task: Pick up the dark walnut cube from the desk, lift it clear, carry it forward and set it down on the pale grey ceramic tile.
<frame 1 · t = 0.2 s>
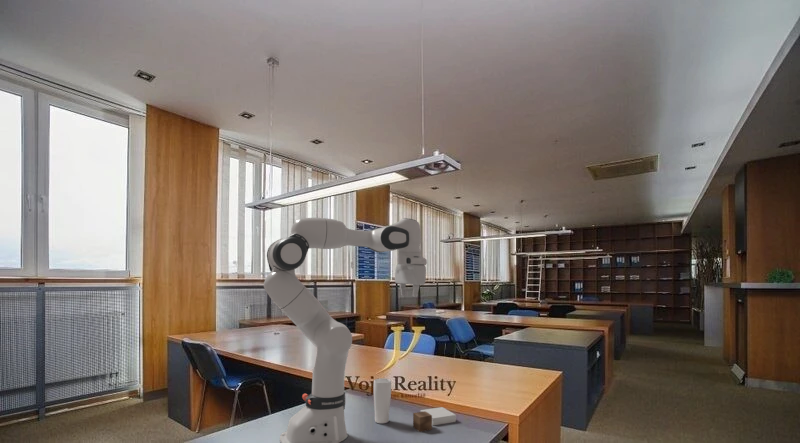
hand: (409, 296, 161), 47 cm above the table, fingers open, 8 cm apart
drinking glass: (381, 422, 157), on the table
grey tile: (437, 419, 161), on the table
walnut cube: (422, 428, 151), on the table
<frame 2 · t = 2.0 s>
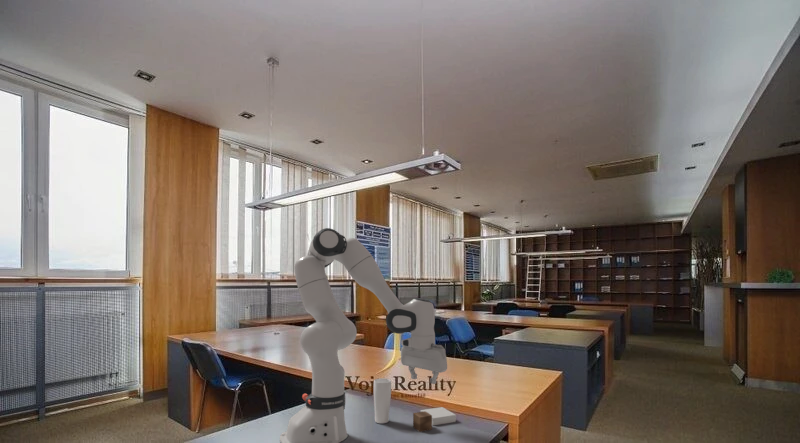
hand: (423, 381, 153), 17 cm above the table, fingers open, 8 cm apart
nothing on the table moved.
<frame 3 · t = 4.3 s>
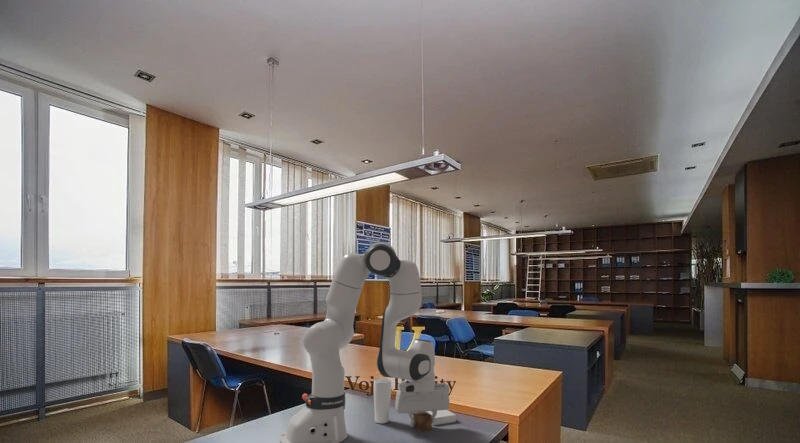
hand: (422, 423, 151), 2 cm above the table, fingers closed on walnut cube, 5 cm apart
walnut cube: (422, 428, 151), on the table, touching gripper
everything else where it was.
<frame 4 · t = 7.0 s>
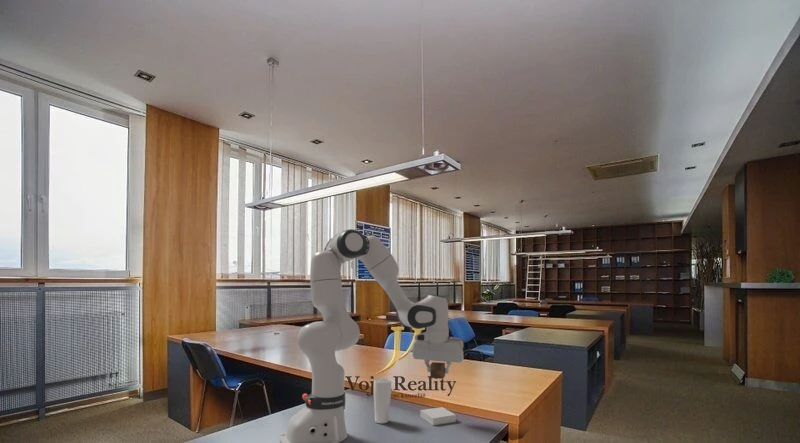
hand: (437, 372, 163), 17 cm above the table, fingers closed on walnut cube, 5 cm apart
walnut cube: (437, 376, 163), point 16 cm above the table, touching gripper
everything else where it was.
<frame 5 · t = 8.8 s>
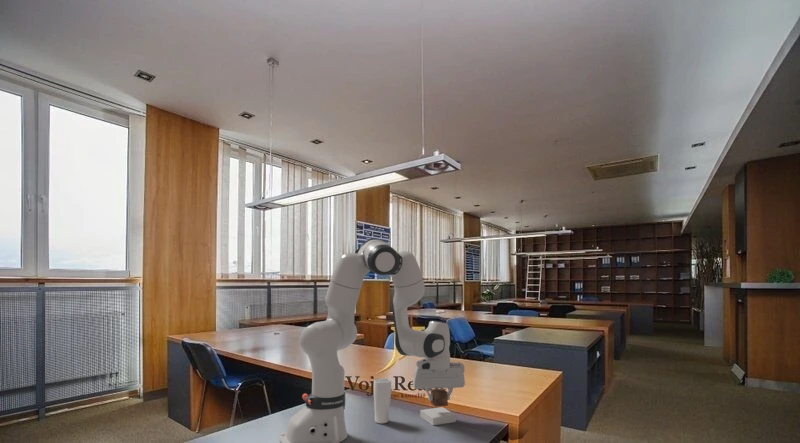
hand: (438, 399, 161), 7 cm above the table, fingers closed on walnut cube, 5 cm apart
walnut cube: (439, 404, 161), point 6 cm above the table, touching gripper
everything else where it was.
when the fingers open (5 cm above the table, at t = 10.2 s): walnut cube stays where it is, resting on grey tile.
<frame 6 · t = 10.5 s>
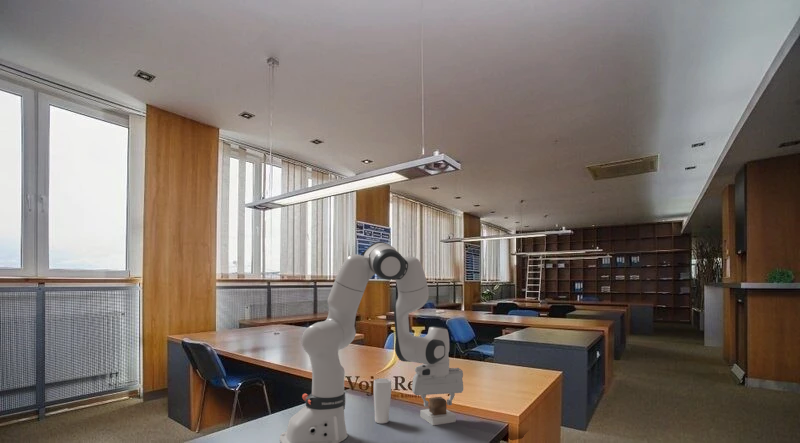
hand: (437, 405, 161), 5 cm above the table, fingers open, 8 cm apart
walnut cube: (437, 412, 161), point 2 cm above the table, touching grey tile
everything else where it was.
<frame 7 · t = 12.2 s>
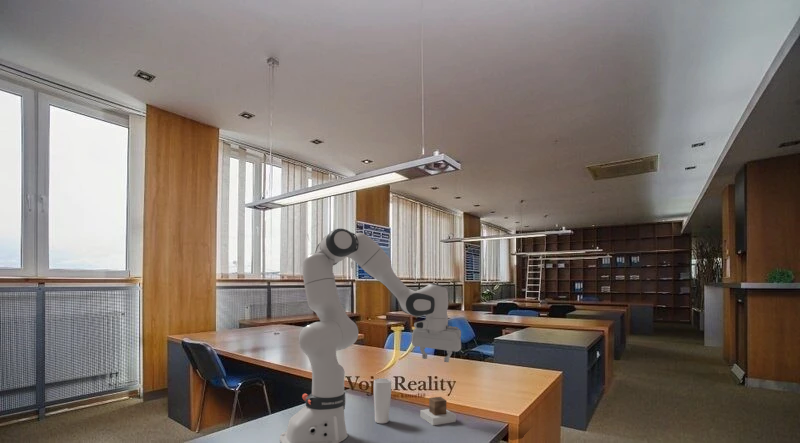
hand: (435, 360, 165), 22 cm above the table, fingers open, 8 cm apart
nothing on the table moved.
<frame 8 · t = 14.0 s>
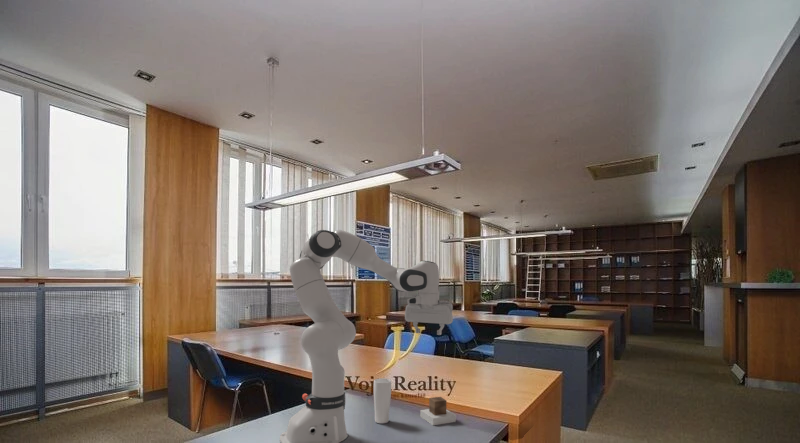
hand: (428, 333, 172), 31 cm above the table, fingers open, 8 cm apart
nothing on the table moved.
at the end: walnut cube inside the target area on the grey tile (0.1 cm from its centre), point 2.5 cm above the grey tile's base; walnut cube tilted 0°; the gripper is holding nothing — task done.
